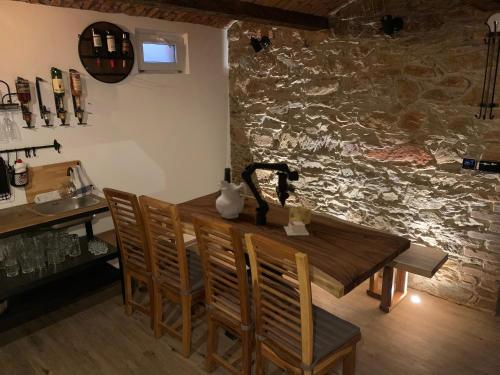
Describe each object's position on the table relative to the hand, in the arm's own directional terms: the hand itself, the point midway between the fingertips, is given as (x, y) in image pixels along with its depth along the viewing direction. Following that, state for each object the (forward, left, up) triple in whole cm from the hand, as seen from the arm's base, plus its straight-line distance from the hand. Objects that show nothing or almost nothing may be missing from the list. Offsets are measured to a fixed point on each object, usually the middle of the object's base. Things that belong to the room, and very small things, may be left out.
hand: (281, 204), depth 256 cm
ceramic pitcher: (-32, +14, -12) cm, 37 cm away
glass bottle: (-34, +40, -12) cm, 54 cm away
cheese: (+12, -2, -12) cm, 17 cm away
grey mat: (+6, -17, -12) cm, 22 cm away
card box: (+7, -17, -11) cm, 21 cm away
